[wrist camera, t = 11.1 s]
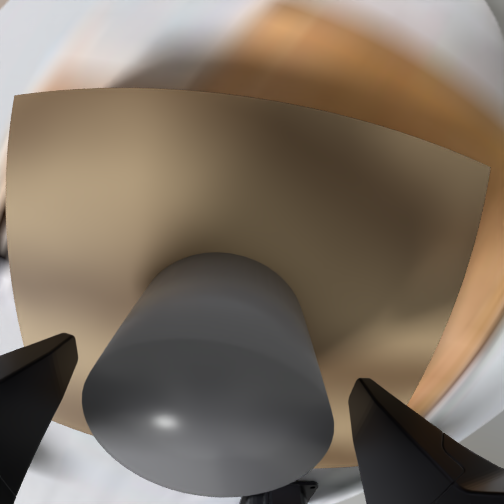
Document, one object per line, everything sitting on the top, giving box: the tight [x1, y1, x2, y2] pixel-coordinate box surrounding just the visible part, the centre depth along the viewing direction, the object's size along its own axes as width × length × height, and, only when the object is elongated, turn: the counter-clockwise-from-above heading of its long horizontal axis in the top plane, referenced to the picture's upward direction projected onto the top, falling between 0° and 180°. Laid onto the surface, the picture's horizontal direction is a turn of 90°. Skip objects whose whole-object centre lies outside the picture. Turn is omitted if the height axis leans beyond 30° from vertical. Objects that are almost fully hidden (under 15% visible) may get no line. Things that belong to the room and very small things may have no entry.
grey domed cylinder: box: [82, 252, 334, 497], centre depth 9 cm, size 6×6×5 cm
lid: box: [6, 88, 491, 468], centre depth 11 cm, size 16×18×1 cm
